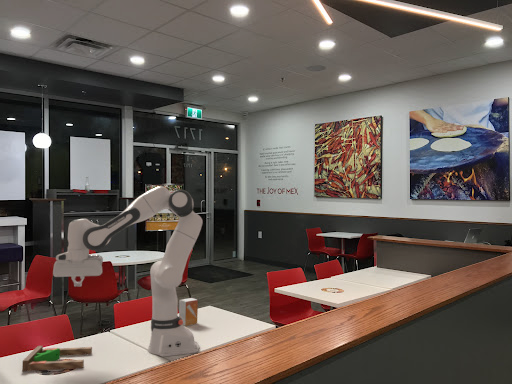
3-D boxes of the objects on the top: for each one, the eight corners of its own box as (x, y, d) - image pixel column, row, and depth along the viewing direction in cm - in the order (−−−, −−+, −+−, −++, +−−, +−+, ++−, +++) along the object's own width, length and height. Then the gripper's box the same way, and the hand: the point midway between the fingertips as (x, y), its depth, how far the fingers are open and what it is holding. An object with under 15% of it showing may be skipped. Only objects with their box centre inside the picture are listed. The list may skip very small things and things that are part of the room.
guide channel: (91, 352, 181) (92, 343, 181) (82, 367, 164) (82, 357, 164) (37, 355, 177) (37, 345, 177) (22, 371, 160) (22, 360, 161)
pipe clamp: (53, 358, 175) (53, 347, 175) (59, 359, 173) (59, 348, 174) (29, 367, 165) (29, 355, 165) (35, 369, 163) (36, 357, 163)
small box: (185, 326, 221) (185, 301, 222) (178, 323, 226) (179, 299, 226) (197, 323, 227) (198, 299, 227) (190, 321, 231) (191, 297, 232)
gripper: (103, 253, 191) (103, 284, 190) (56, 254, 187) (55, 285, 186) (101, 255, 184) (101, 286, 184) (52, 256, 181) (51, 288, 180)
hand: (77, 286), depth 185 cm, fingers closed
